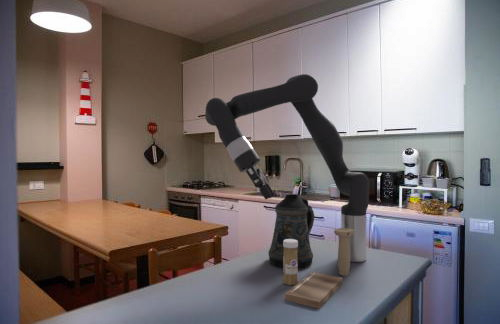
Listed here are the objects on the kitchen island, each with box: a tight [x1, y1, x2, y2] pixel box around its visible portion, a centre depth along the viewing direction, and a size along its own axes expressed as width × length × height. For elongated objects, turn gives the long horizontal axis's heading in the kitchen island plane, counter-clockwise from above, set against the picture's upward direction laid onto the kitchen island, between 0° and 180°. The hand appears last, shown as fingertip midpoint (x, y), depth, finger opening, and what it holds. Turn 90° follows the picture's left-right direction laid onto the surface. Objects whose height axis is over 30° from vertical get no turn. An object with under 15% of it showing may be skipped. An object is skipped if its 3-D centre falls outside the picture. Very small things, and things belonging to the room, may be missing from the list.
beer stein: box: [268, 194, 315, 270], centre depth 127 cm, size 16×19×25 cm
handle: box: [333, 227, 354, 277], centre depth 112 cm, size 5×6×15 cm
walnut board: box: [284, 271, 344, 310], centre depth 99 cm, size 20×10×2 cm, turn 148°
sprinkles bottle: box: [282, 239, 299, 286], centre depth 105 cm, size 5×5×14 cm
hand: (270, 197), depth 105 cm, fingers open, 8 cm apart
